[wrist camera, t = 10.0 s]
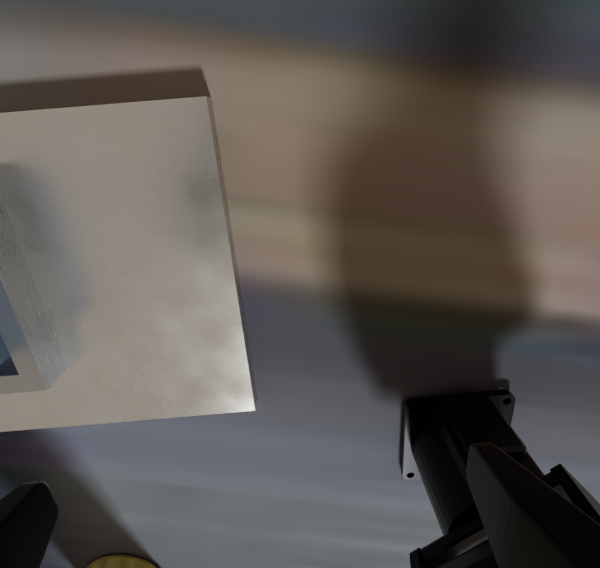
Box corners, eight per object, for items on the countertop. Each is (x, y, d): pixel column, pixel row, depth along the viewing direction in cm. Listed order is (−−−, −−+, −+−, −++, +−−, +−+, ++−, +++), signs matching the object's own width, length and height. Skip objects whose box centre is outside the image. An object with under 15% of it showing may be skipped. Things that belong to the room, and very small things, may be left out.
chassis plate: (256, 398, 22) (252, 435, 19) (-82, 427, 22) (-130, 467, 19) (210, 97, 16) (196, 92, 13) (-265, 136, 16) (-373, 139, 13)
